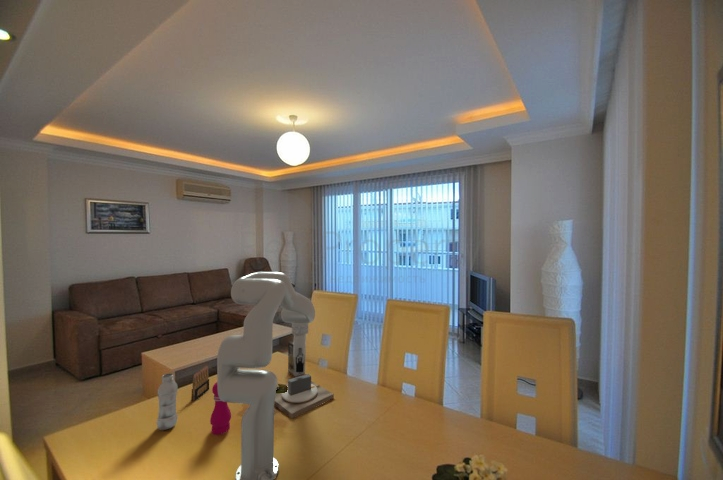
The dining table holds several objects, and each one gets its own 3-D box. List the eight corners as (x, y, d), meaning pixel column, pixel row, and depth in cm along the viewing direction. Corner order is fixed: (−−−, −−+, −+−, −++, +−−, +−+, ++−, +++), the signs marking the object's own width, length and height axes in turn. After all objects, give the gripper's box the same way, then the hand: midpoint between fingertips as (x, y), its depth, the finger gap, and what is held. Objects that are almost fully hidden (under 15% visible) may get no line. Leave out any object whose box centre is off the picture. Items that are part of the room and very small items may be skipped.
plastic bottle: (152, 429, 112) (153, 377, 112) (171, 420, 118) (171, 370, 118) (162, 434, 109) (163, 380, 109) (181, 424, 115) (181, 373, 115)
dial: (289, 406, 124) (290, 390, 124) (276, 391, 137) (276, 375, 137) (323, 395, 134) (323, 379, 134) (307, 381, 147) (308, 367, 147)
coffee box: (287, 370, 164) (287, 341, 164) (298, 367, 168) (298, 339, 168) (294, 376, 157) (294, 346, 157) (305, 373, 161) (305, 343, 161)
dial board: (333, 398, 136) (333, 393, 136) (291, 418, 120) (291, 412, 120) (305, 382, 151) (305, 377, 151) (265, 398, 135) (265, 393, 135)
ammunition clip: (205, 389, 143) (205, 364, 143) (209, 389, 143) (209, 364, 143) (191, 400, 133) (191, 374, 133) (195, 401, 132) (195, 374, 133)
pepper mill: (222, 437, 108) (223, 382, 108) (205, 434, 110) (206, 380, 110) (235, 425, 115) (235, 373, 116) (218, 422, 117) (219, 372, 117)
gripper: (291, 325, 143) (291, 361, 142) (291, 335, 126) (291, 376, 126) (307, 324, 145) (306, 359, 144) (309, 334, 128) (308, 374, 127)
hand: (299, 367), depth 135 cm, fingers open, 9 cm apart
